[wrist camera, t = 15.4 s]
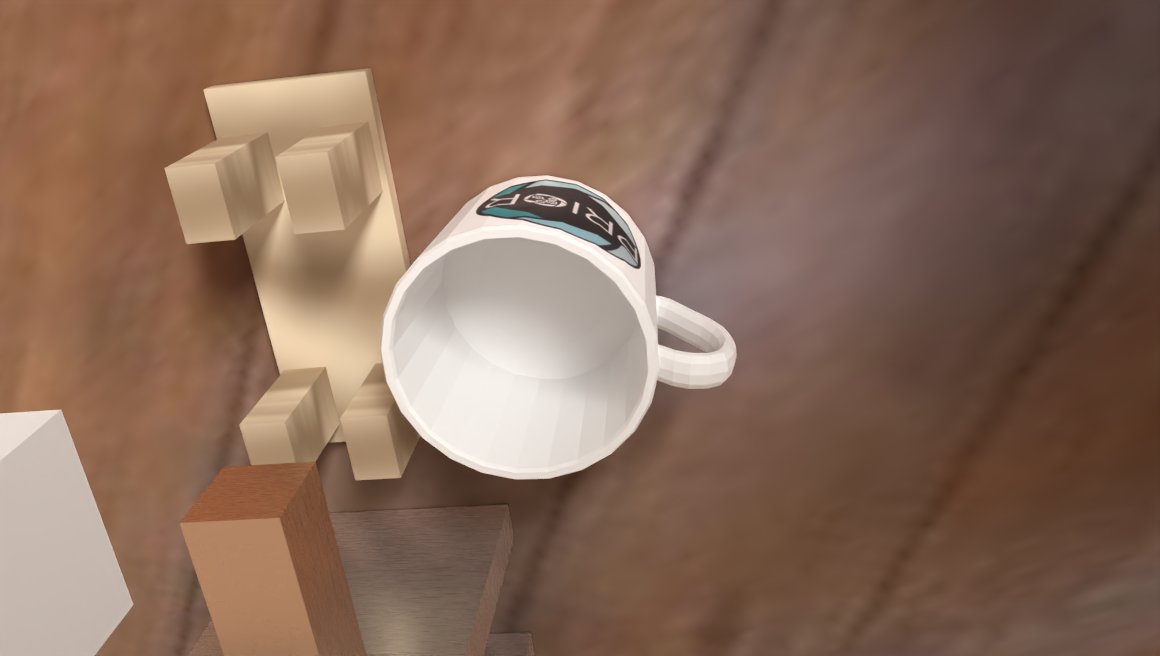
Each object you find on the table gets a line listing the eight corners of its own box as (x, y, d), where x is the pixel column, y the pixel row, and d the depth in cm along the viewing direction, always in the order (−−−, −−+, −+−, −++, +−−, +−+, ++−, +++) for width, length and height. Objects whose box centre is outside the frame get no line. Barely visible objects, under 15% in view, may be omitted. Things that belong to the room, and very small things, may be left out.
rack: (211, 86, 42) (141, 116, 37) (370, 68, 41) (322, 96, 36) (304, 436, 49) (256, 505, 43) (443, 427, 48) (412, 497, 42)
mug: (431, 378, 47) (383, 470, 39) (426, 158, 43) (371, 215, 35) (718, 401, 46) (724, 500, 39) (743, 179, 42) (755, 242, 34)
